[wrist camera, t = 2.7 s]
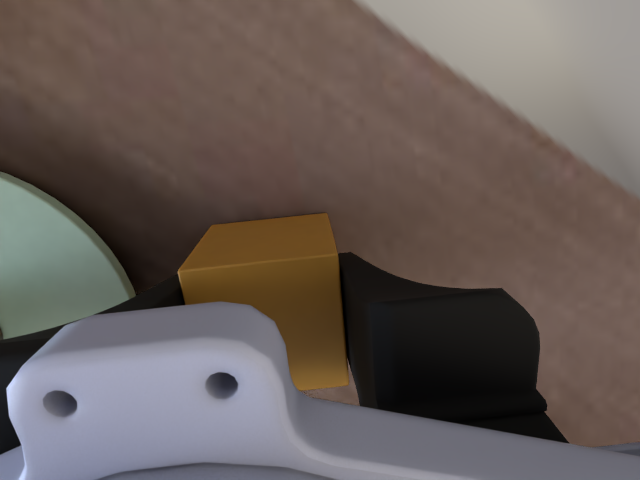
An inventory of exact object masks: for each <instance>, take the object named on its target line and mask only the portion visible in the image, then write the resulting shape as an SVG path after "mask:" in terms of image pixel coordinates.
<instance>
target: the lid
mask: <svg viewBox="0 0 640 480" xmlns="http://www.w3.org/2000/svg"><path fill="white" fill-rule="evenodd" d="M135 296H136V294H135V291H134V288H133V286H132V284H131V282H130V280H129V278H128V276H127V274H126V272H125V270H124V268H123V267H122V266H121V264H120V263H119V261H118V260H117V258H116V257H115V255H114V254H113V252H112V251H111V249H110V248H109V247H108V246H107V245H106V244H105V242H104V241H103V240H102V239H101V238H100V237H99V235H98V234H97V233H96V232H95V231H94V230H93V229H92V228H91V227H90V226H89V225H88V224H86V223H85V222H84V221H83V220H82V219H81V218H80V217H79V216H78V215H77V214H75V213H74V212H73V211H71V210H70V209H69V208H67V207H66V206H65V205H63V204H62V203H61V202H59V201H58V200H56V199H55V198H53V197H52V196H50V195H48V194H47V193H45V192H43V191H41V190H40V189H38V188H36V187H35V186H33V185H31V184H29V183H26V182H24V181H22V180H20V179H18V178H15V177H13V176H11V175H9V174H6V173H3V172H0V340H3V339H8V338H13V337H17V336H22V335H26V334H30V333H35V332H38V331H42V330H46V329H50V328H54V327H57V326H60V325H63V324H66V323H70V322H73V321H76V320H79V319H82V318H85V317H88V316H91V315H94V314H96V313H99V312H101V311H104V310H107V309H109V308H111V307H114V306H116V305H118V304H121V303H123V302H125V301H127V300H129V299H131V298H133V297H135Z"/></svg>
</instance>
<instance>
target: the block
mask: <svg viewBox="0 0 640 480" xmlns="http://www.w3.org/2000/svg"><path fill="white" fill-rule="evenodd" d="M178 276H179V280H180V284H181V289H182V293H183V297H184V302H185V305H191V304H201V303H210V302H219V301H222V302H230V303H238V304H246V305H251V306H253V307H254V308H256V309H257V310H259V311H260V312H261V313H263V314H264V315H266V316H267V317H269V318H270V319H272V320H273V321H275V323H276V326H277V328H278V330H279V332H280V334H281V336H282V338H283V340H284V342H285V345H286V351H287V358H288V365H289V371H290V375H291V378H292V381H293V383H294V385H295V386H296V388H297V389H298V390H299V391H304V390H313V389H322V388H330V387H339V386H347V385H349V374H348V362H347V350H346V339H345V327H344V316H343V304H342V292H341V281H340V269H339V258H338V252H337V248H336V244H335V241H334V237H333V233H332V229H331V225H330V221H329V217H328V214H327V213H321V214H311V215H302V216H292V217H283V218H273V219H264V220H254V221H245V222H235V223H226V224H216V225H211V227H210V228H209V229H208V231H207V232H206V233H205V235H204V236H203V237H202V239H201V240H200V241H199V243H198V244H197V246H196V247H195V248H194V250H193V251H192V252H191V254H190V255H189V256H188V258H187V259H186V260H185V262H184V263H183V264H182V266H181V267H180V268H179V270H178Z"/></svg>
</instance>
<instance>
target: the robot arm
mask: <svg viewBox="0 0 640 480" xmlns="http://www.w3.org/2000/svg"><path fill="white" fill-rule="evenodd" d="M338 258H339V269H340V281H341V292H342V304H343V316H344V327H345V339H346V350H347V358H348V361H349V365H350V368H351V371H352V375H353V378H354V381H355V385H356V389H357V393H358V397H359V403H360V406H356V405H351V404H345V403H339V402H334V401H328V400H323V399H317V398H311V397H308V396H306V395H305V394H303V393H302V392H300V391H299V390H298V389H297V388H296V386H295V385H294V383H293V381H292V378H291V375H290V371H289V365H288V358H287V351H286V345H285V342H284V340H283V338H282V336H281V334H280V332H279V330H278V328H277V326H276V323H275V321H273V320H272V319H270V318H269V317H267V316H266V315H264V314H263V313H261V312H260V311H259V310H257V309H256V308H254V307H253V306H251V305H246V304H238V303H230V302H222V301H219V302H210V303H201V304H191V305H185V302H184V297H183V293H182V289H181V284H180V280H179V276H178V274H177V275H175V276H173V277H171V278H169V279H167V280H165V281H164V282H162V283H160V284H158V285H156V286H154V287H152V288H151V289H149V290H147V291H145V292H143V293H141V294H139V295H137V296H135V297H133V298H131V299H129V300H127V301H125V302H123V303H121V304H118V305H116V306H114V307H111V308H109V309H107V310H104V311H101V312H99V313H96V314H94V315H91V316H88V317H85V318H82V319H79V320H76V321H73V322H70V323H66V324H63V325H60V326H57V327H54V328H50V329H46V330H42V331H38V332H35V333H30V334H26V335H22V336H17V337H13V338H8V339H3V340H0V480H640V442H635V443H627V444H618V445H609V446H601V447H592V448H591V447H585V446H580V445H574V444H570V443H569V442H568V441H567V440H566V438H565V437H564V436H563V435H562V433H561V432H560V431H559V430H558V428H557V427H556V426H555V425H554V423H553V422H552V421H551V420H550V418H549V417H548V416H547V415H546V413H545V412H544V411H547V403H546V400H545V399H544V398H543V397H542V395H541V394H540V393H539V392H538V391H537V389H536V383H537V373H538V363H539V353H540V339H539V331H538V329H537V326H536V324H535V321H534V319H533V318H532V317H531V316H530V314H529V313H528V312H527V311H526V310H525V309H524V308H523V307H522V306H521V305H520V304H519V303H518V302H517V301H516V300H514V299H513V298H512V297H511V296H510V295H509V294H508V293H507V292H506V291H504V290H503V289H502V288H488V289H461V288H447V287H439V286H433V285H427V284H422V283H418V282H413V281H410V280H407V279H404V278H400V277H398V276H395V275H392V274H390V273H388V272H386V271H383V270H381V269H379V268H377V267H375V266H373V265H372V264H370V263H368V262H366V261H365V260H363V259H361V258H360V257H358V256H357V255H355V254H353V253H351V252H348V253H339V254H338Z"/></svg>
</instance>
